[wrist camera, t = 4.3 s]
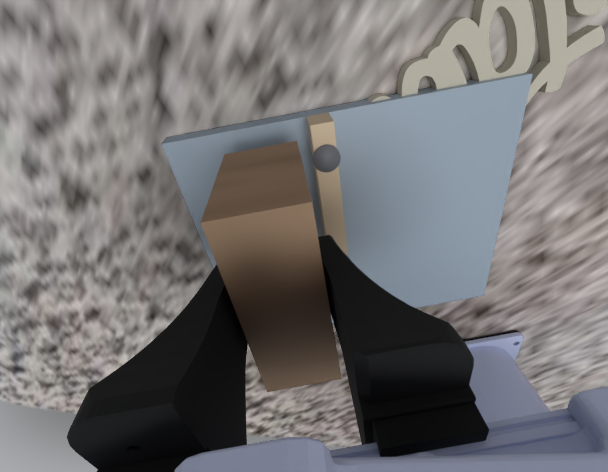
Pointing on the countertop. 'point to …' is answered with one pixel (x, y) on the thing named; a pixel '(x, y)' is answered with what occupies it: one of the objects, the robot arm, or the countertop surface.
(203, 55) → the countertop surface
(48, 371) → the countertop surface
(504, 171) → the blue flat mat
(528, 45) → the decorative sign
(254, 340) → the brown square box
